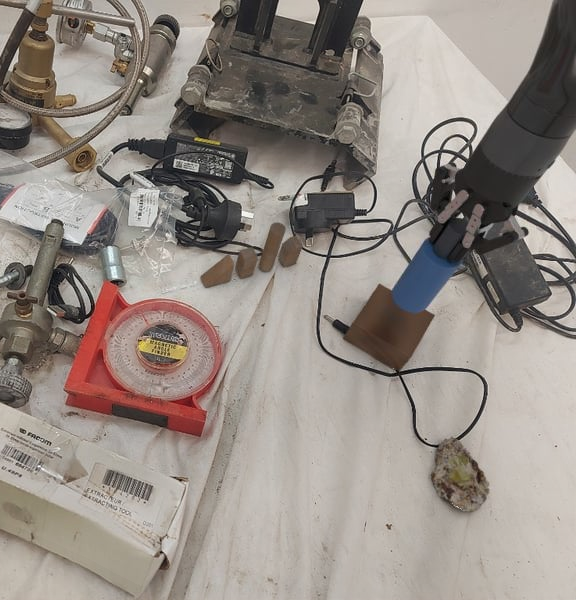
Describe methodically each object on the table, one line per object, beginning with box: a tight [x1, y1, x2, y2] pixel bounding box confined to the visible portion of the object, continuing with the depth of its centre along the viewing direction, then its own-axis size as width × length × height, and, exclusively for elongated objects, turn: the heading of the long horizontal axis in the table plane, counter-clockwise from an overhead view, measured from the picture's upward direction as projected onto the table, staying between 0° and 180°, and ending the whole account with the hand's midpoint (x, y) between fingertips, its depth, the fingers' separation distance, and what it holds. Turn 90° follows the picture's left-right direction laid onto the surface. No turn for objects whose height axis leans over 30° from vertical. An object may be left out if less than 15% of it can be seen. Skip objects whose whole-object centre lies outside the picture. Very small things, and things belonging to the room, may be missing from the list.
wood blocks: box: [161, 221, 304, 294], centre depth 96 cm, size 25×3×10 cm, turn 111°
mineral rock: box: [430, 436, 491, 513], centre depth 82 cm, size 11×4×8 cm
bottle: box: [391, 217, 469, 313], centre depth 80 cm, size 6×6×16 cm
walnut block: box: [343, 283, 436, 372], centre depth 94 cm, size 10×10×5 cm
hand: (444, 249), depth 78 cm, fingers closed on bottle, 3 cm apart
